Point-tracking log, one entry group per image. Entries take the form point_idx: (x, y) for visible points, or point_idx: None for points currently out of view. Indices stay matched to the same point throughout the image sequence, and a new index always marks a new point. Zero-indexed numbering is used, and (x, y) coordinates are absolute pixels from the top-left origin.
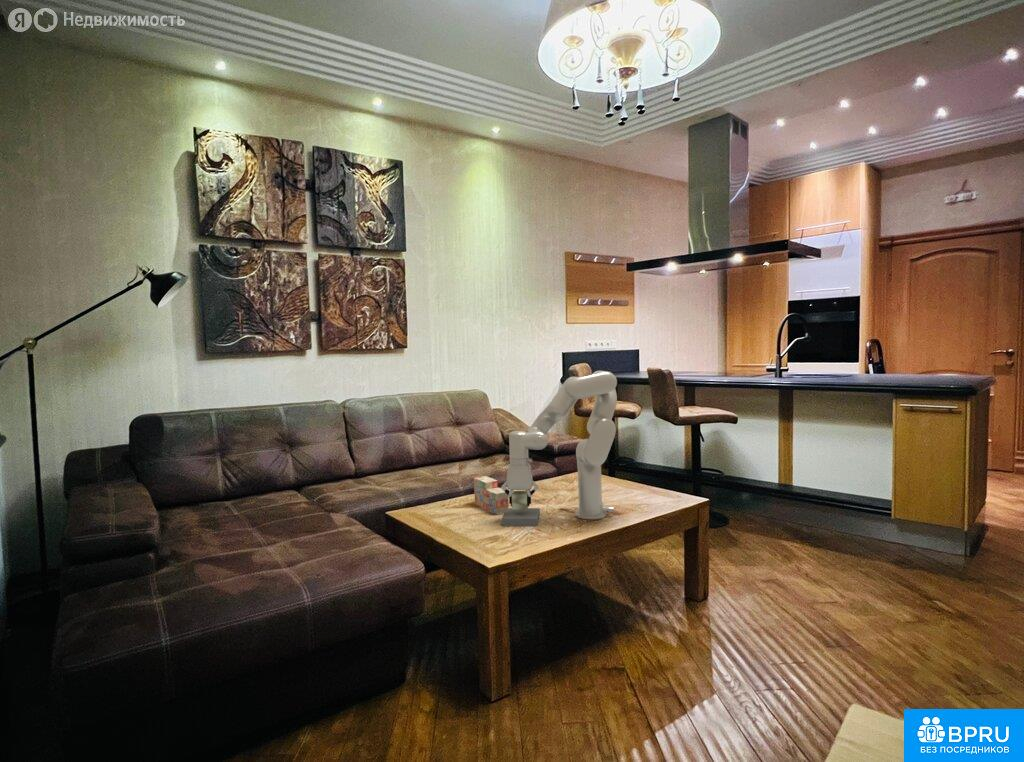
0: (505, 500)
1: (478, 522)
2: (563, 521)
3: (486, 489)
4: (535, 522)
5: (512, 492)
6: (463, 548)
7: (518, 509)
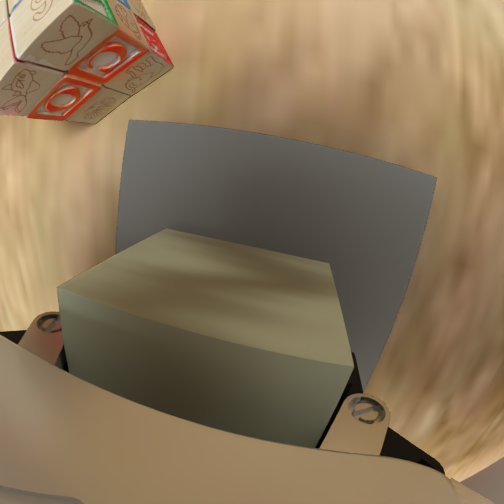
0: (99, 53)
1: (32, 251)
2: (498, 335)
3: None
4: None
5: (65, 361)
6: None
7: (230, 175)
